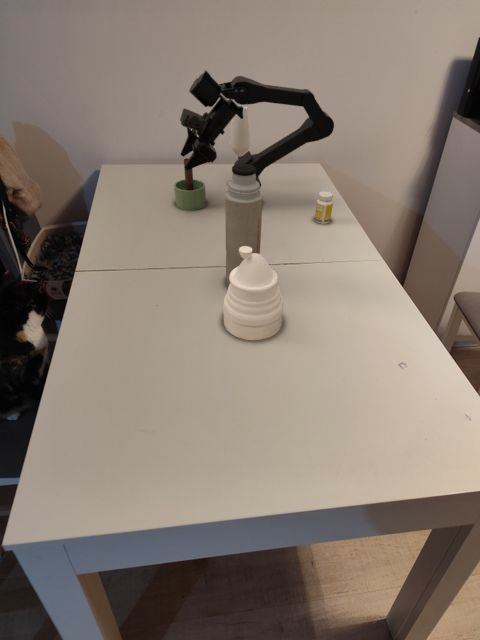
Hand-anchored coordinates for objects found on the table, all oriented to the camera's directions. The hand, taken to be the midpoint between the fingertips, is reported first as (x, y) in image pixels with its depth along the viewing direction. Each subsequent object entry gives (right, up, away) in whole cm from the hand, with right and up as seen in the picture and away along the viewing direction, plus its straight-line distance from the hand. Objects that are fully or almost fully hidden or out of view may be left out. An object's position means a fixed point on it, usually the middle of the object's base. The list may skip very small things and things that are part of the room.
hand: (183, 162), depth 130 cm
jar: (0, -9, +11) cm, 14 cm away
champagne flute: (+15, +2, +24) cm, 29 cm away
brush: (0, -8, +10) cm, 13 cm away
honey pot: (+21, -49, -32) cm, 62 cm away
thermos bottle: (+18, -39, -21) cm, 48 cm away
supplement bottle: (+42, -16, +6) cm, 45 cm away
